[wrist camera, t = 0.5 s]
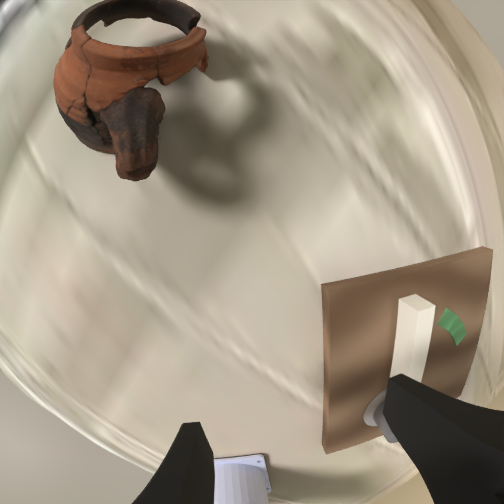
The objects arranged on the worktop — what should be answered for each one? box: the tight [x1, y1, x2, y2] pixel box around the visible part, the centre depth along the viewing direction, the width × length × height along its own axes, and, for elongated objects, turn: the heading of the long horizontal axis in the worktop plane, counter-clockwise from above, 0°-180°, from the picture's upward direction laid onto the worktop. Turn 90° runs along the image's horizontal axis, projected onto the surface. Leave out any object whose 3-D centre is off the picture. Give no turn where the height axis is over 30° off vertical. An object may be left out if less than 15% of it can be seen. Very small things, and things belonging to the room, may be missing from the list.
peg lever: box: [373, 294, 436, 443], centre depth 17 cm, size 13×4×3 cm, turn 8°
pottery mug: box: [54, 0, 208, 181], centre depth 12 cm, size 12×10×8 cm
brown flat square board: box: [321, 247, 493, 454], centre depth 20 cm, size 18×18×2 cm
